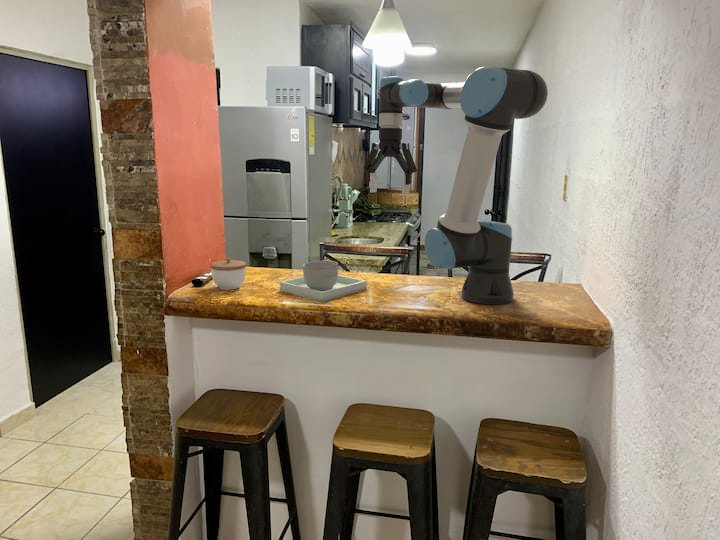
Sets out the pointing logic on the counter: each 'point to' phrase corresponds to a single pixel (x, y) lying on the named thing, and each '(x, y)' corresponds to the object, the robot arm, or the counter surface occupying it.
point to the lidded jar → (228, 273)
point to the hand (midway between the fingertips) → (389, 193)
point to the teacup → (320, 274)
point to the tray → (339, 289)
